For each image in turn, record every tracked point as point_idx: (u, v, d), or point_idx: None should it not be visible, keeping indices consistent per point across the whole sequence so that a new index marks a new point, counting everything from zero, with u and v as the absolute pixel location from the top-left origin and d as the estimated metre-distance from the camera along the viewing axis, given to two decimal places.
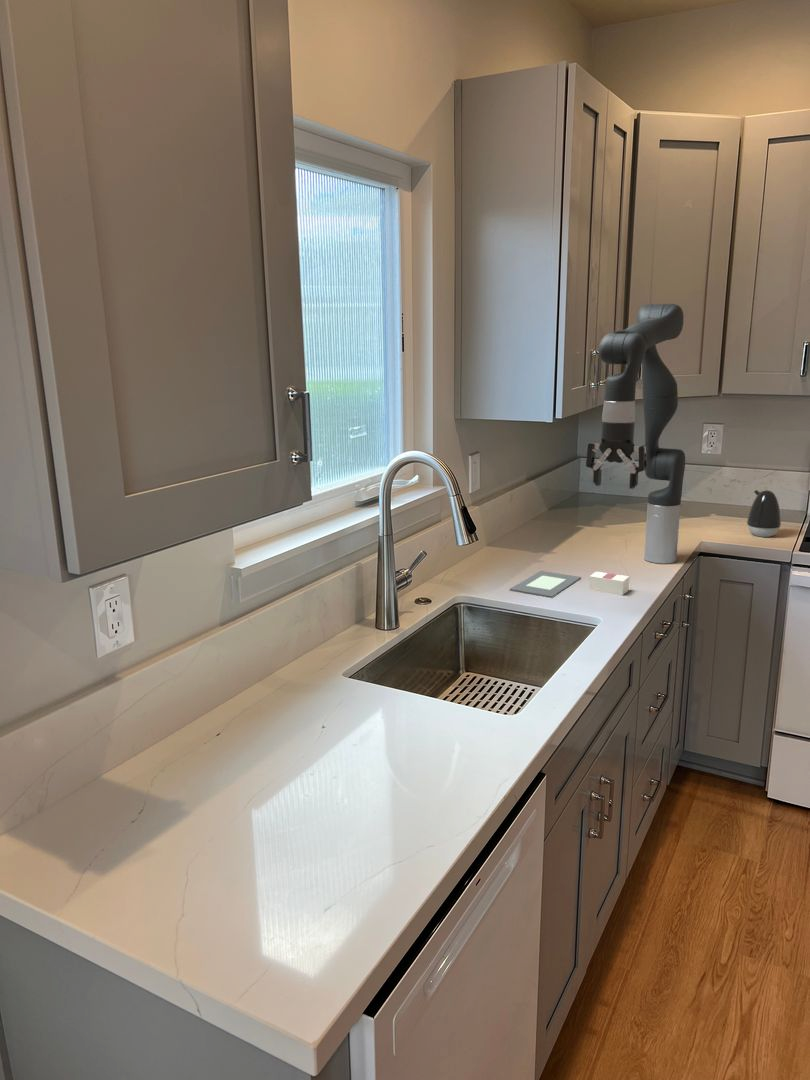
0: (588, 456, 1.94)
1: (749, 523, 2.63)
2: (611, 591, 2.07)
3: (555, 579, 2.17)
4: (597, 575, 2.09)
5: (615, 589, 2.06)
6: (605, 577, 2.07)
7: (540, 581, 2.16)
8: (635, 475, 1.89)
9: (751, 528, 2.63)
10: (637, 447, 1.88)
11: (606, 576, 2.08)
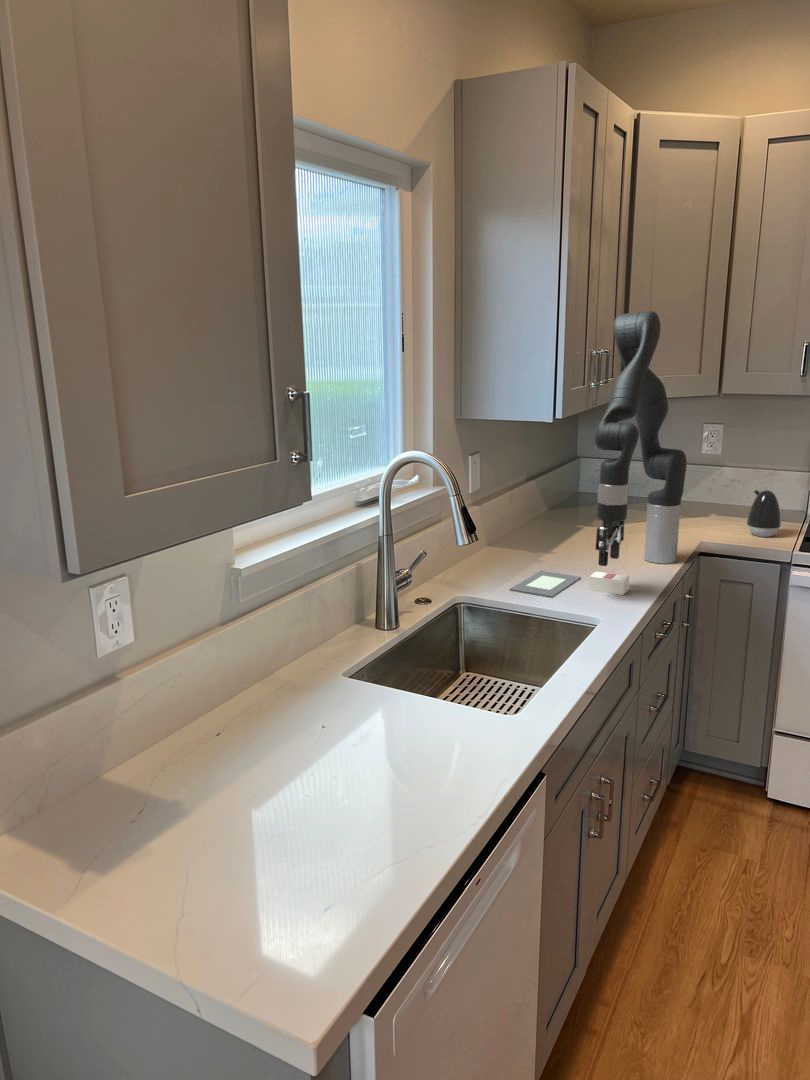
0: (605, 540, 2.00)
1: (749, 523, 2.63)
2: (612, 591, 2.07)
3: (555, 579, 2.17)
4: (597, 575, 2.09)
5: (615, 589, 2.06)
6: (605, 577, 2.07)
7: (540, 581, 2.16)
8: None
9: (751, 528, 2.63)
10: (619, 521, 2.09)
11: (606, 576, 2.08)
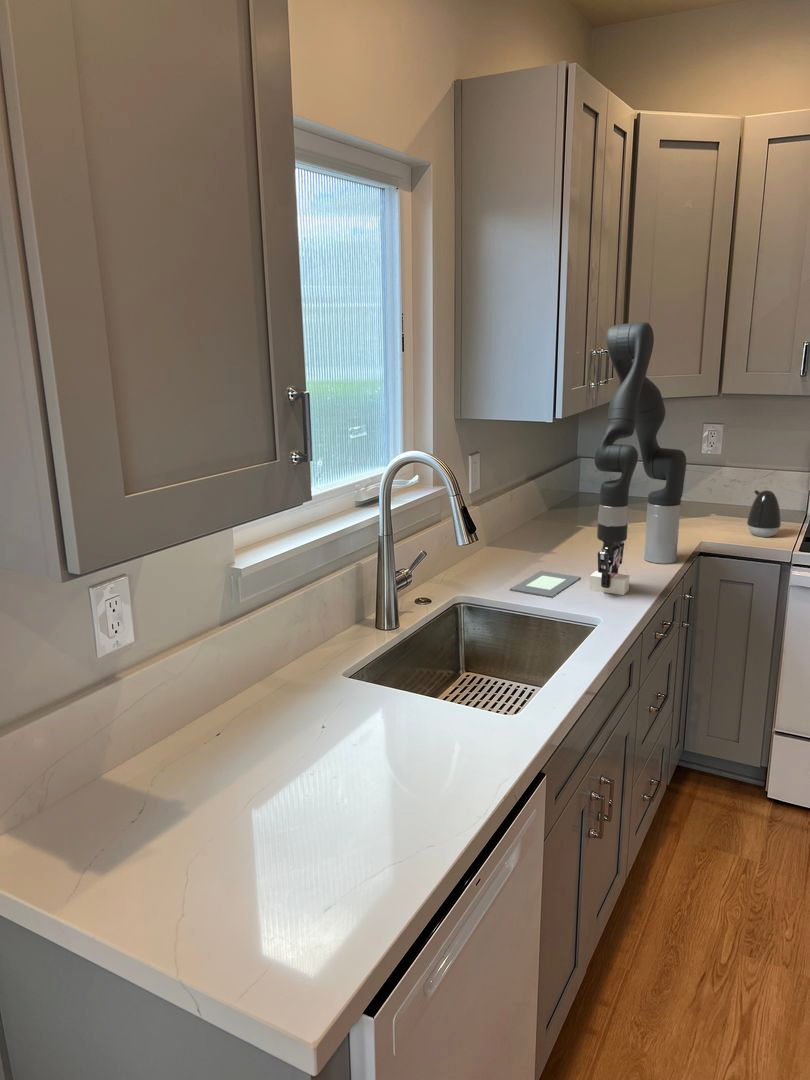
0: (607, 564, 2.02)
1: (749, 523, 2.63)
2: (612, 590, 2.07)
3: (555, 579, 2.17)
4: (597, 574, 2.09)
5: (616, 589, 2.06)
6: None
7: (540, 581, 2.16)
8: None
9: (751, 528, 2.63)
10: None
11: None
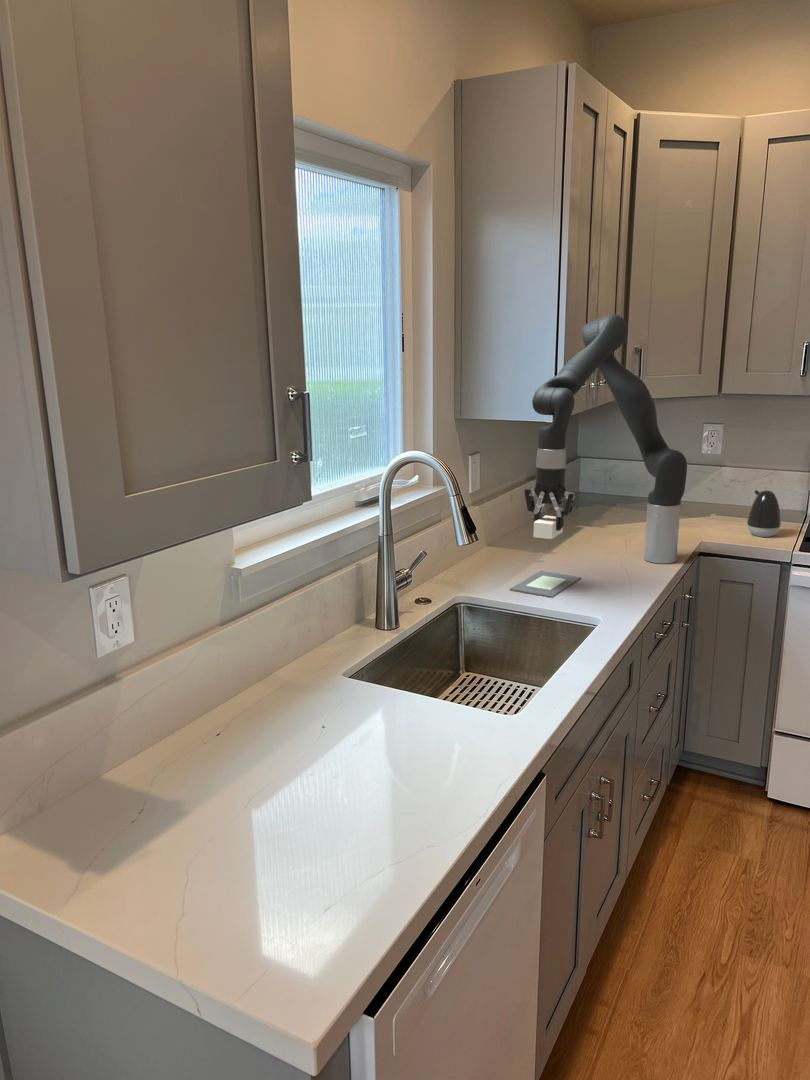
0: None
1: (749, 523, 2.63)
2: (559, 531, 2.11)
3: (555, 579, 2.17)
4: (548, 522, 2.07)
5: None
6: (555, 520, 2.09)
7: (540, 581, 2.16)
8: None
9: (751, 528, 2.63)
10: None
11: (551, 520, 2.10)
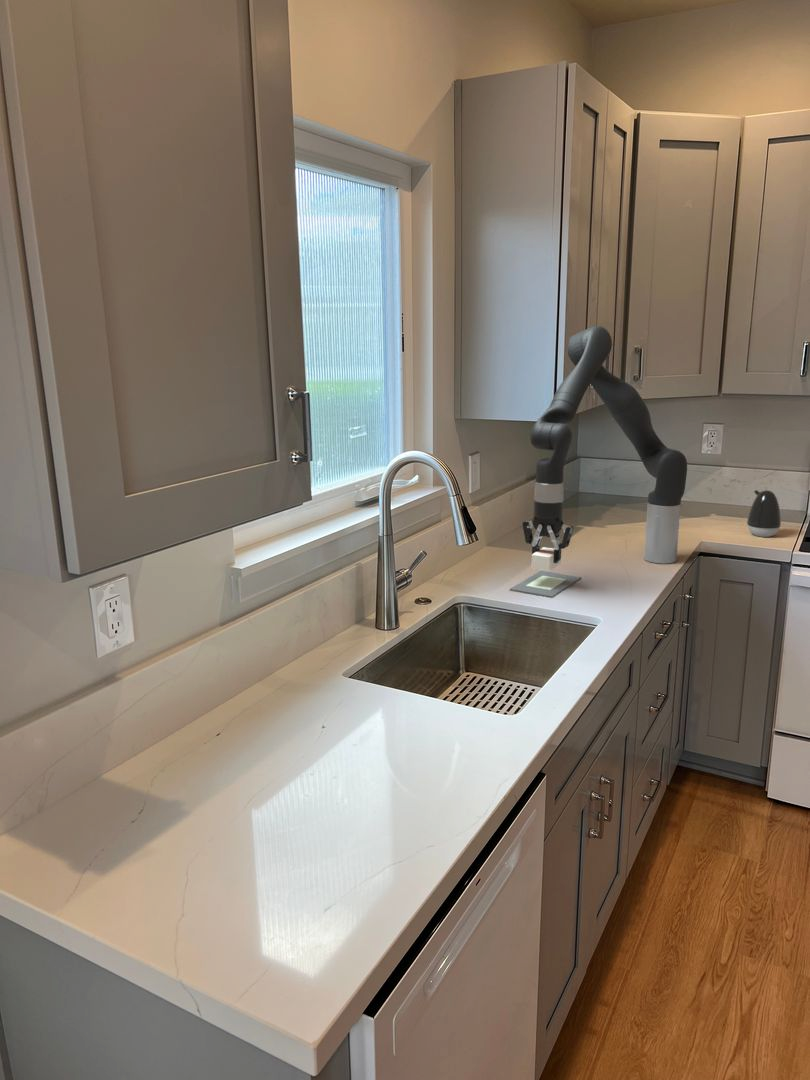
0: None
1: (749, 523, 2.63)
2: (556, 563, 2.14)
3: (555, 579, 2.17)
4: (546, 555, 2.10)
5: None
6: (553, 552, 2.12)
7: (540, 581, 2.16)
8: None
9: (751, 528, 2.63)
10: None
11: (549, 552, 2.12)
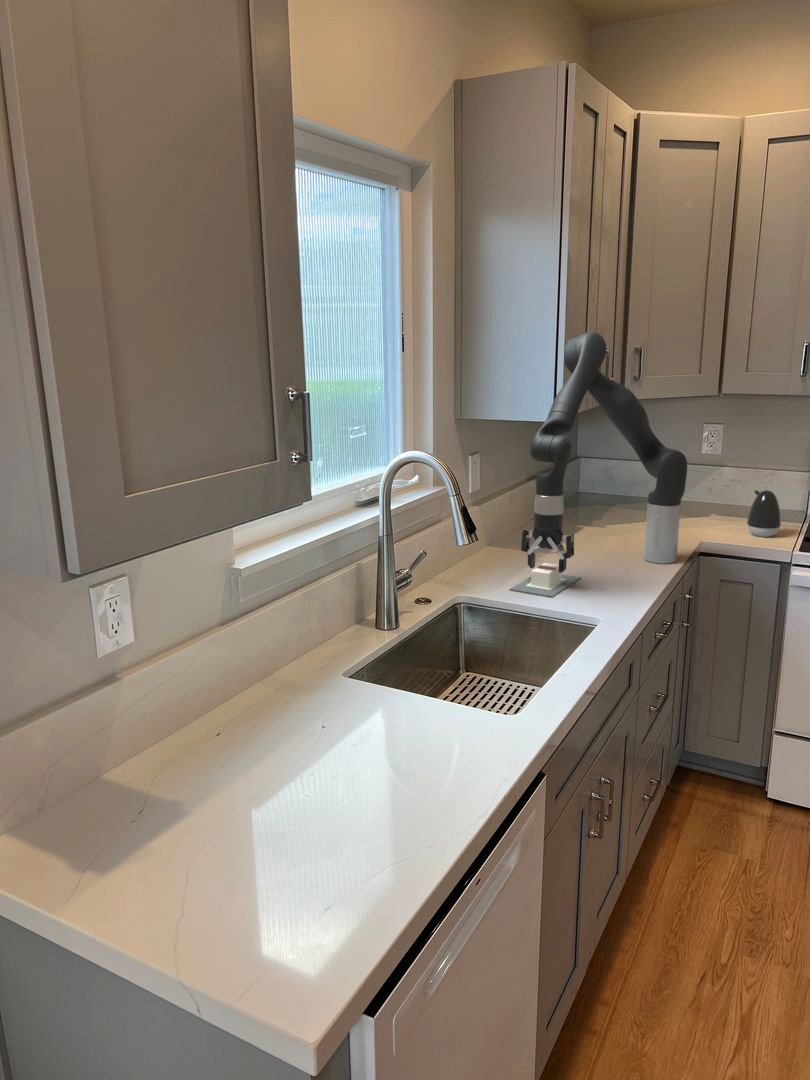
0: None
1: (749, 523, 2.63)
2: (557, 579, 2.15)
3: None
4: (545, 571, 2.11)
5: (558, 576, 2.15)
6: (552, 569, 2.13)
7: None
8: None
9: (751, 528, 2.63)
10: None
11: (548, 568, 2.13)
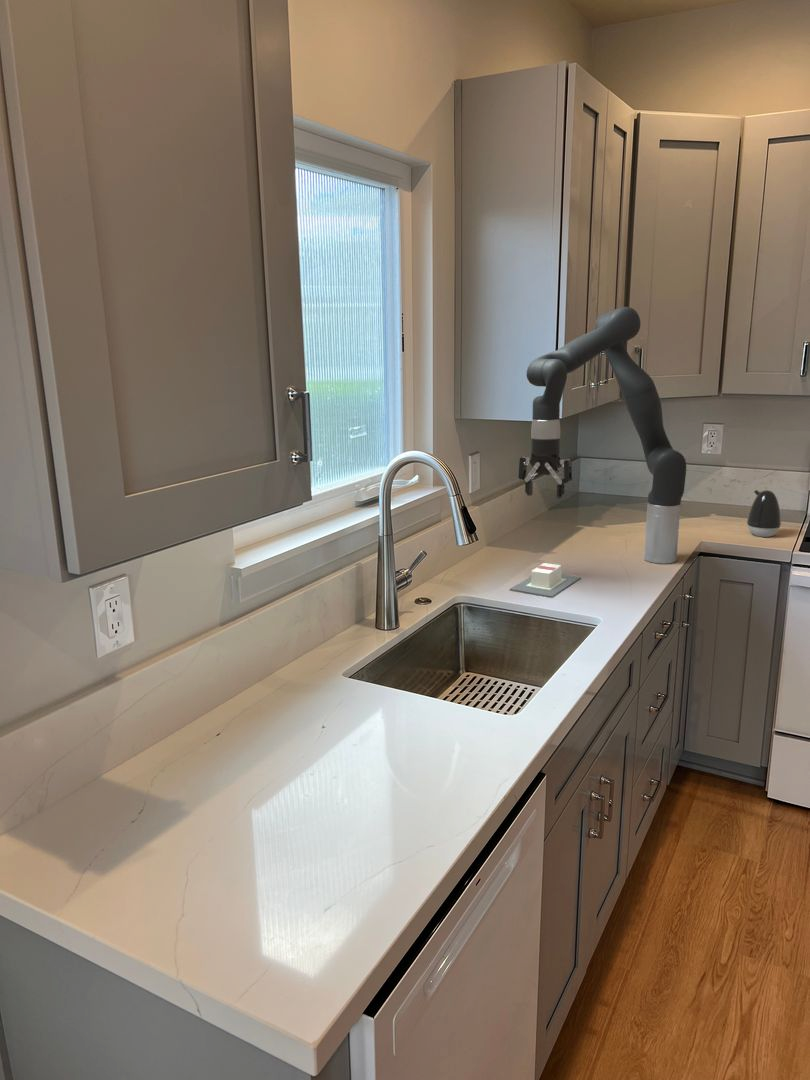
0: None
1: (749, 523, 2.63)
2: (557, 579, 2.15)
3: None
4: (545, 571, 2.11)
5: (558, 576, 2.15)
6: (552, 569, 2.13)
7: None
8: None
9: (751, 528, 2.63)
10: None
11: (548, 568, 2.13)
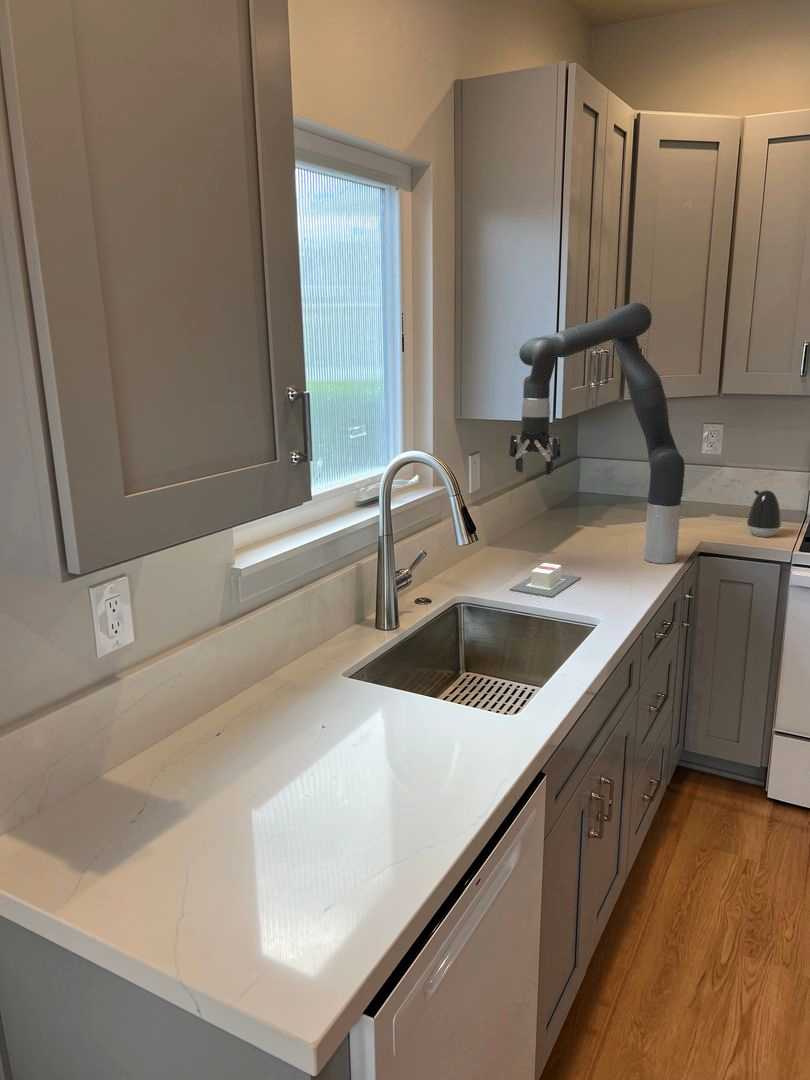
0: None
1: (749, 523, 2.63)
2: (557, 579, 2.15)
3: None
4: (545, 571, 2.11)
5: (558, 576, 2.15)
6: (552, 569, 2.13)
7: None
8: None
9: (751, 528, 2.63)
10: None
11: (548, 568, 2.13)
